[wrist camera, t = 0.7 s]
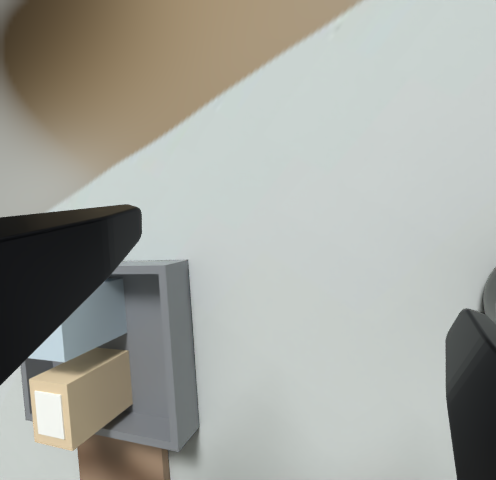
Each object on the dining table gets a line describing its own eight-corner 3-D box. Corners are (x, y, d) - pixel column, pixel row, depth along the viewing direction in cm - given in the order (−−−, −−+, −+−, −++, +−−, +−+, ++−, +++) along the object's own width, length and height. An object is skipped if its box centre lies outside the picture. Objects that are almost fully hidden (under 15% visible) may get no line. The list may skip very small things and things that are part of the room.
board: (172, 519, 28) (167, 527, 27) (89, 494, 31) (82, 501, 30) (166, 437, 28) (161, 443, 27) (82, 421, 31) (75, 426, 30)
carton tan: (132, 403, 28) (71, 451, 22) (99, 398, 29) (33, 442, 23) (128, 350, 28) (65, 385, 22) (95, 347, 29) (27, 379, 23)
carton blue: (127, 332, 28) (64, 362, 22) (94, 330, 29) (27, 357, 23) (122, 278, 27) (58, 294, 22) (89, 278, 29) (20, 293, 23)
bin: (199, 426, 26) (178, 451, 24) (56, 401, 32) (25, 419, 29) (187, 259, 26) (165, 265, 23) (44, 262, 31) (11, 267, 28)
